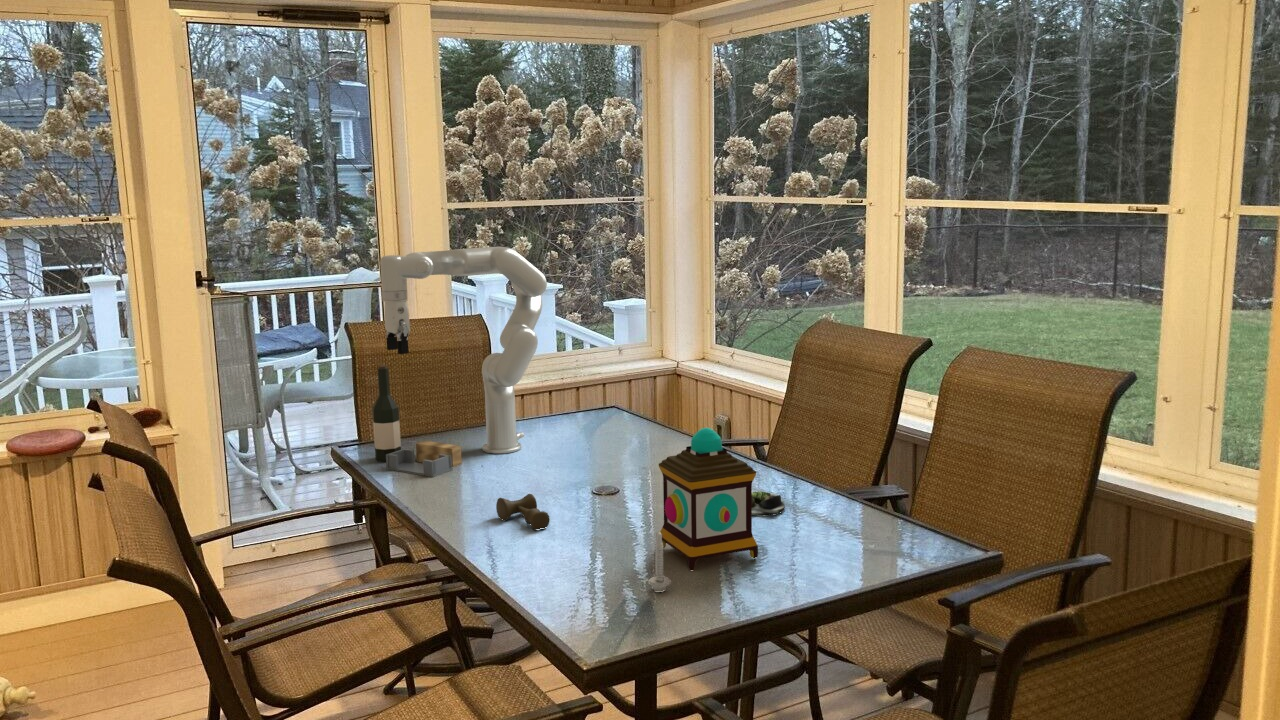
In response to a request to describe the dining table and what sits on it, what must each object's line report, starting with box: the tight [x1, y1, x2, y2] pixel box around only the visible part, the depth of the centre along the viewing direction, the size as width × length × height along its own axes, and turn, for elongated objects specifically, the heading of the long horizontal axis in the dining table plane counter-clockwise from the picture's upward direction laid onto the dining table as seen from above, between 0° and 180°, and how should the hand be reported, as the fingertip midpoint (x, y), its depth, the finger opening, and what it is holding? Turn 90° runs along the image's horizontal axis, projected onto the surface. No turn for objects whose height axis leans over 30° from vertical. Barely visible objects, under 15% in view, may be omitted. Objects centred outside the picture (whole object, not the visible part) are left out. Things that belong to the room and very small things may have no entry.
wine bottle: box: [371, 364, 402, 463], centre depth 326 cm, size 8×8×30 cm
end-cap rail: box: [385, 447, 453, 478], centre depth 315 cm, size 19×8×5 cm, turn 59°
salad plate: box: [752, 490, 786, 516], centre depth 272 cm, size 19×18×5 cm
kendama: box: [495, 493, 550, 530], centre depth 265 cm, size 6×10×20 cm
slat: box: [415, 440, 463, 468], centre depth 322 cm, size 15×4×6 cm, turn 59°
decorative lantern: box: [658, 427, 759, 571], centre depth 237 cm, size 20×20×30 cm
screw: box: [647, 531, 672, 592], centre depth 217 cm, size 13×5×5 cm
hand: (397, 351), depth 318 cm, fingers open, 9 cm apart
